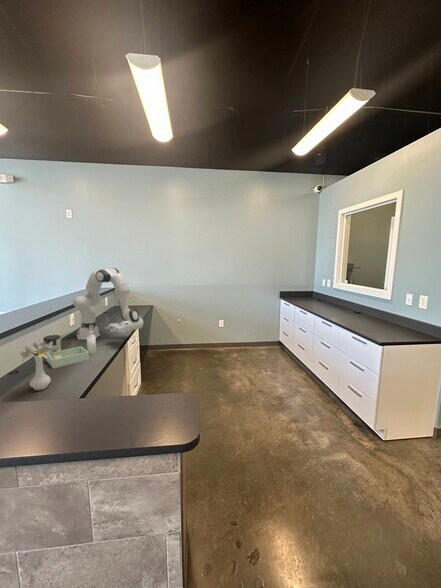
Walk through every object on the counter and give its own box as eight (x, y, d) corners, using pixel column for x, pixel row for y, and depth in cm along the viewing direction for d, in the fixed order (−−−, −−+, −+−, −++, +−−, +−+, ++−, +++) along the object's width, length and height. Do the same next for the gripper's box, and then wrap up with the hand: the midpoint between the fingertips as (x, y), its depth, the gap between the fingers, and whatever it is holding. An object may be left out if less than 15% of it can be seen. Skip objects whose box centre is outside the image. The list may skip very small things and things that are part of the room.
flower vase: (61, 378, 147) (59, 337, 144) (44, 395, 129) (41, 349, 126) (37, 379, 145) (34, 338, 142) (16, 396, 127) (12, 349, 124)
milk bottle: (86, 351, 191) (85, 328, 188) (94, 349, 195) (93, 326, 192) (88, 353, 186) (87, 329, 184) (97, 351, 191) (96, 328, 188)
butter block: (53, 361, 169) (53, 356, 168) (60, 360, 172) (59, 354, 171) (56, 365, 164) (55, 359, 164) (63, 363, 167) (62, 357, 166)
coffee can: (49, 359, 174) (48, 340, 172) (41, 356, 179) (40, 337, 177) (64, 354, 183) (63, 336, 181) (56, 352, 188) (55, 334, 186)
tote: (47, 362, 170) (46, 353, 169) (81, 354, 185) (81, 346, 185) (52, 369, 159) (52, 360, 158) (88, 360, 175) (88, 352, 174)
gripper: (118, 320, 214) (102, 323, 204) (129, 324, 200) (112, 327, 190) (119, 327, 215) (102, 330, 205) (130, 332, 200) (113, 335, 191)
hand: (107, 329), depth 197 cm, fingers open, 8 cm apart
